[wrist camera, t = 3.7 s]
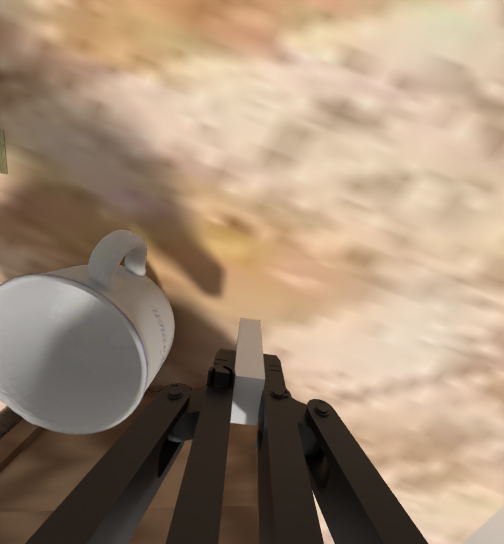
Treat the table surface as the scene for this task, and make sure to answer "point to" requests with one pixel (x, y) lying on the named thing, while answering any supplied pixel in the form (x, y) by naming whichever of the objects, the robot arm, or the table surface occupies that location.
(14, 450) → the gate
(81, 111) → the table surface
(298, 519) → the robot arm
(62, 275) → the teacup
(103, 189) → the table surface
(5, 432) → the two posts
